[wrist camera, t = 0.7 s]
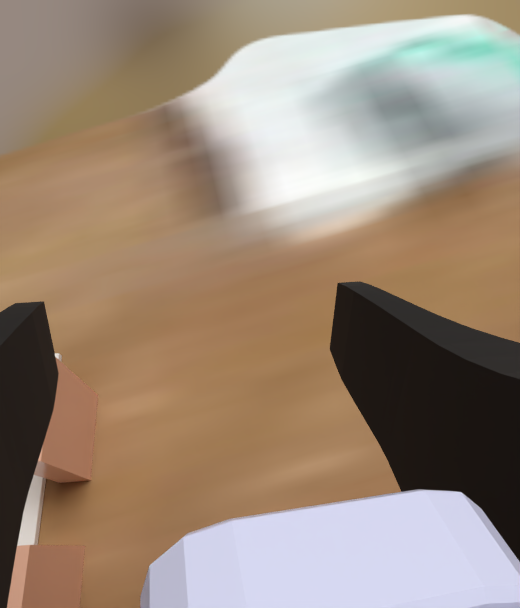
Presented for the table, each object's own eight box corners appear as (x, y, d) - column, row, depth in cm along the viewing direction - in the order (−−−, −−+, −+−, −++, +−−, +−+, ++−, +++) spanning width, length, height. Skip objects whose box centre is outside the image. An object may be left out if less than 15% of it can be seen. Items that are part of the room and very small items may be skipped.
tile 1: (90, 480, 24) (40, 461, 19) (56, 483, 24) (-4, 464, 19) (98, 395, 26) (54, 356, 21) (66, 397, 26) (15, 359, 21)
